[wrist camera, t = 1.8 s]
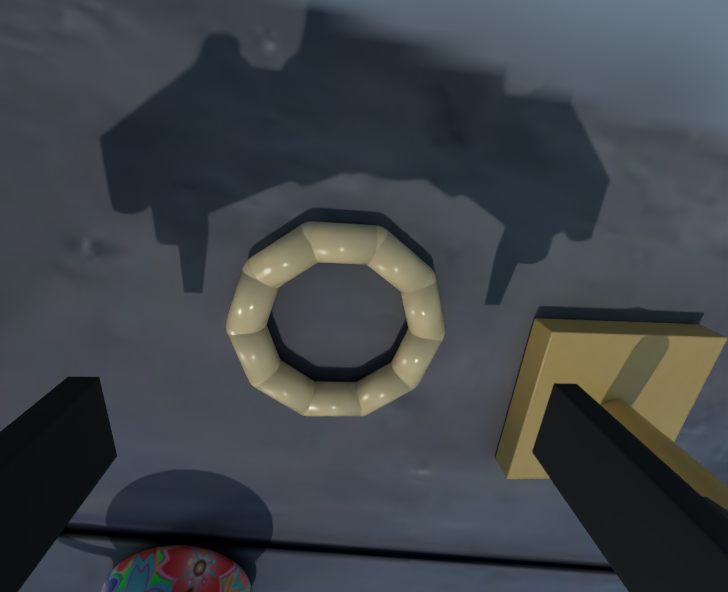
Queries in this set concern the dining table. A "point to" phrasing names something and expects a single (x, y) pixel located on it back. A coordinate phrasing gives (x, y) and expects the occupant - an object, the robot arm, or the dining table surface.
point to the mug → (177, 572)
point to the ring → (347, 248)
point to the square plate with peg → (615, 387)
